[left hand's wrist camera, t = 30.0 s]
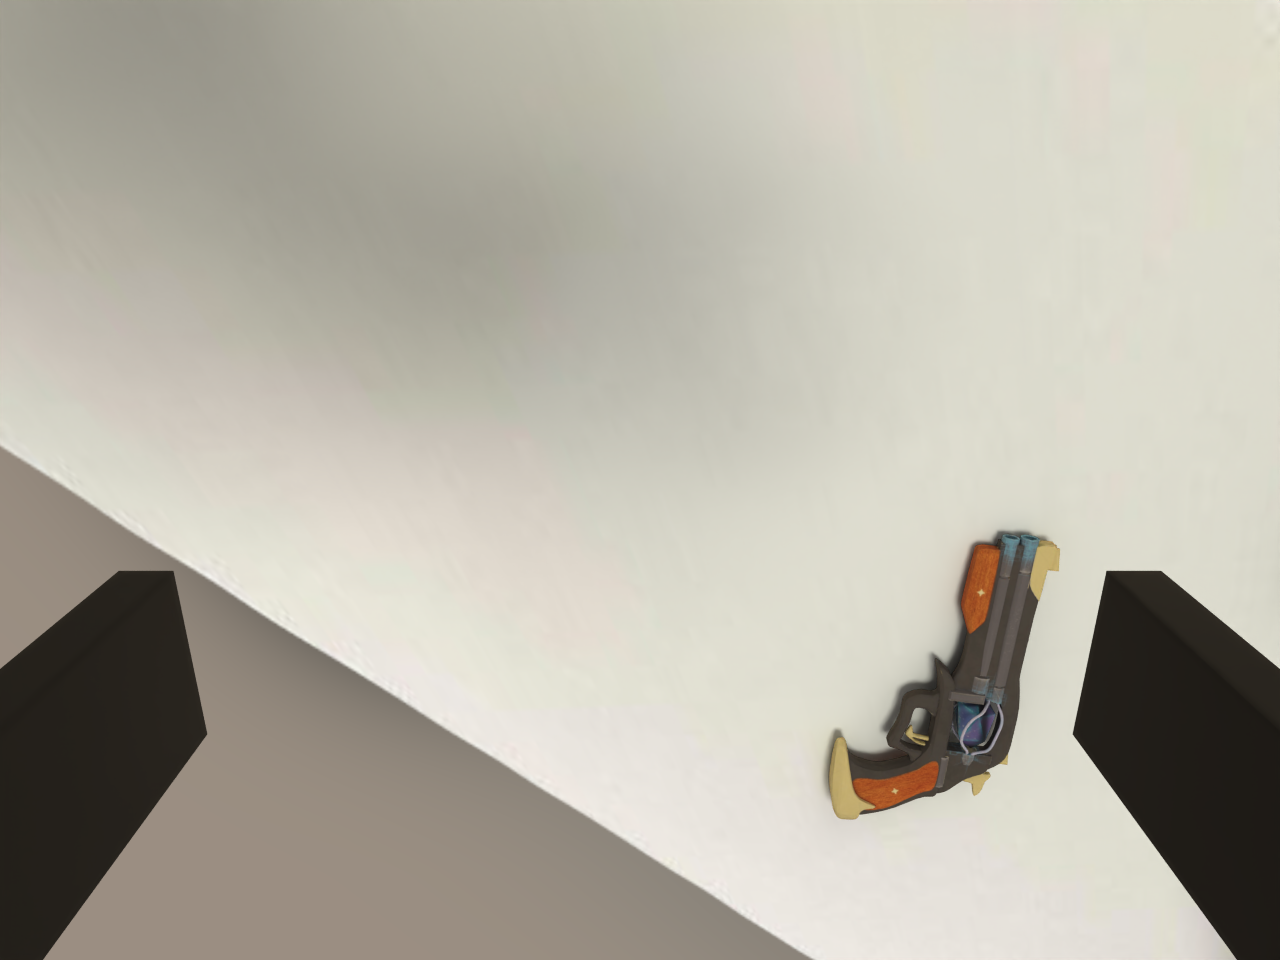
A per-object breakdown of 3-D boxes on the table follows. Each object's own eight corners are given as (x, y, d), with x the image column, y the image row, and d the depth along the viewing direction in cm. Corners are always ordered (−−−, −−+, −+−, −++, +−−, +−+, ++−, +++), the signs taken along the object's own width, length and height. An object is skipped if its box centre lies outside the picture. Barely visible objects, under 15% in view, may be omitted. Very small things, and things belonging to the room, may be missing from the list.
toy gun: (825, 827, 53) (997, 852, 52) (878, 527, 47) (1071, 550, 47) (821, 799, 55) (985, 823, 55) (871, 511, 50) (1054, 532, 49)
